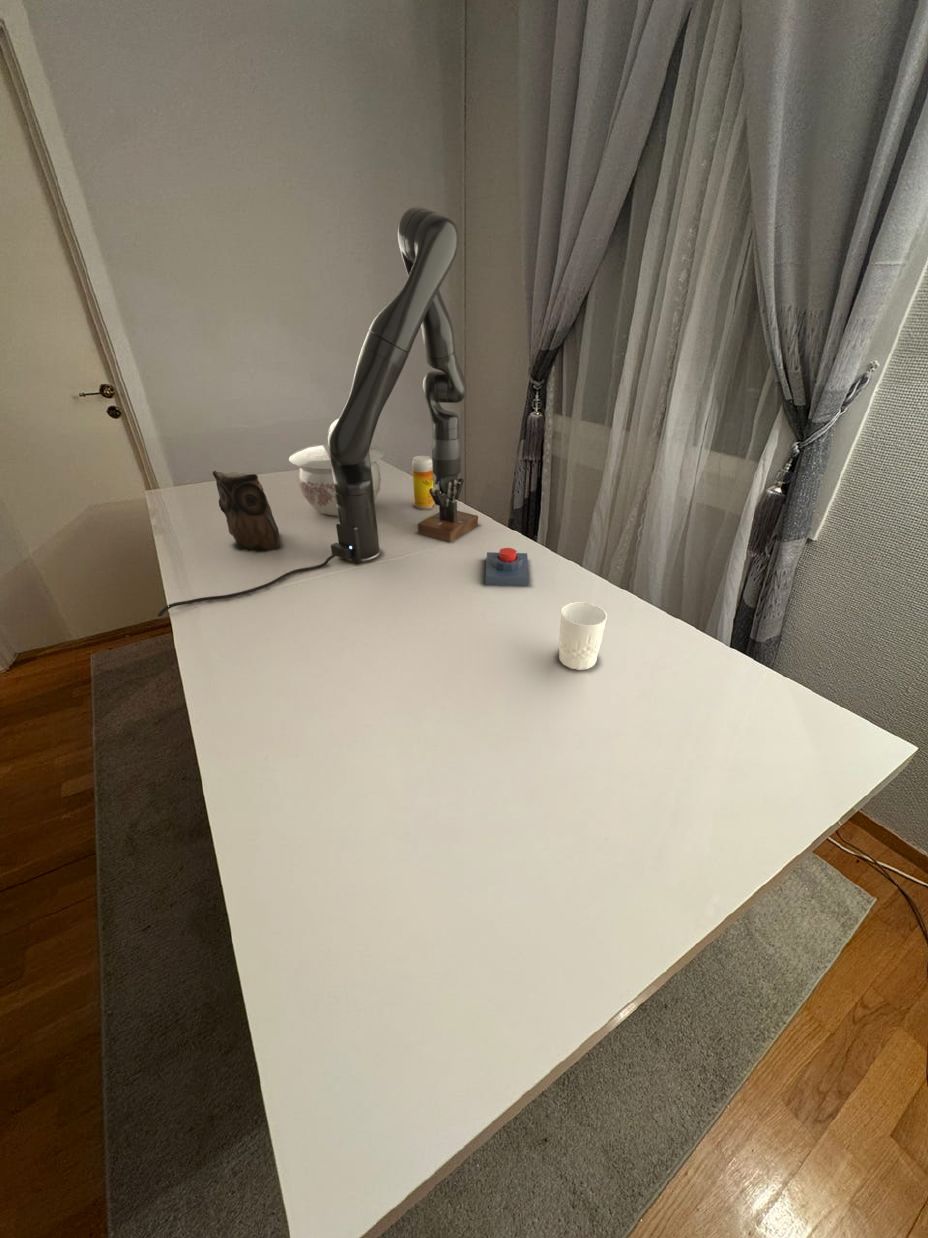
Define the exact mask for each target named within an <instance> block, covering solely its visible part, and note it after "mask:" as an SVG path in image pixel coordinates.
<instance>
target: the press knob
mask: <svg viewBox="0 0 928 1238" xmlns="http://www.w3.org/2000/svg"><path fill="white" fill-rule="evenodd" d="M498 552H499V560H500V561H504V562H512V561H515V560H516V553H517V550H516V549H514V548H512V547H502V548H500V549H499V551H498Z"/></svg>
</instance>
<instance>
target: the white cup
mask: <svg viewBox="0 0 928 1238" xmlns="http://www.w3.org/2000/svg"><path fill="white" fill-rule="evenodd" d="M607 619H608V614H607V612H606V611H605V610H604V609H603V608H602V607H600V606H599V605H597V604H594V603H591V602H587V601H586V602H584V601H575V602H570V603H567V604H565V605H563V607H562V608H561V610H560V619H559V643H558V646H559V650H558V651H559V652H558V657H559V661H560V662H561V663H562V665H564V666H565V667H567V668H569V669H572V670H577V671H582V670H583V671H584V670H588V669H591V668H592V667H594V666H595V664H596V663H597V659H598V655H599V652H600V648H601V644H602V641H603V636H604V632H605V627H606V623H607Z"/></svg>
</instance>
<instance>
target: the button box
mask: <svg viewBox="0 0 928 1238" xmlns="http://www.w3.org/2000/svg"><path fill="white" fill-rule="evenodd" d="M485 568H486V569H485V582H484V583H485V586H517V587H519V586H520V587H529V586H530V570H529V569H530V568H529V559H528V553H527V552H516V560H515V561H512V562H504V561H500V560H499V551H498V552H493V551H492V552H491V551H488V552H486V563H485Z"/></svg>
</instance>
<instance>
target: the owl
mask: <svg viewBox="0 0 928 1238" xmlns="http://www.w3.org/2000/svg"><path fill="white" fill-rule="evenodd" d="M212 476H213V477H214V479H215V483H216V489H217V492H218V496H219V499H218V505H219V508H220V511H221V512H222V513H223V515H224V516H225V518H226V525H227V528H228V533H229V535H231V536H232V537H233V539H234V540H235V543H234V544H233V546H234V547H235V548H236V549H237V550H240V551H241V550H242V551H243V550H247V551H248V552H250V551H254V552H256V553H259V552H267V551H272V550H278V549H280V547H281V546H280V533H279V532H280V531H279V527H278V525H277V523H276V521H275V518H274V515H273V512H272V509H271V505H270V503H269V501H268V497H267V495H266V494H265V492H264V487H263V485H262V484H261V482H260V480H259V476H258V475H257V474H256V473H247V472H239V471H228V472H224V471H223V472H222V471H221V472H220V471H217V470H213V471H212Z"/></svg>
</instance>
